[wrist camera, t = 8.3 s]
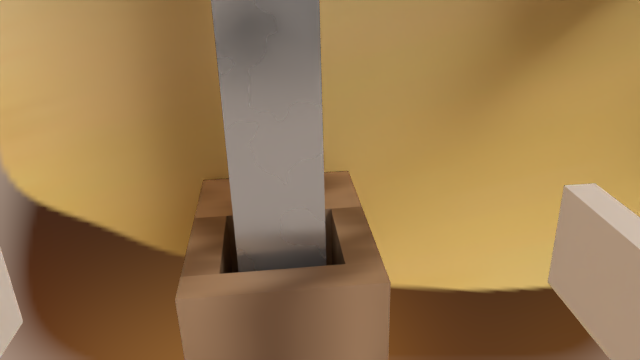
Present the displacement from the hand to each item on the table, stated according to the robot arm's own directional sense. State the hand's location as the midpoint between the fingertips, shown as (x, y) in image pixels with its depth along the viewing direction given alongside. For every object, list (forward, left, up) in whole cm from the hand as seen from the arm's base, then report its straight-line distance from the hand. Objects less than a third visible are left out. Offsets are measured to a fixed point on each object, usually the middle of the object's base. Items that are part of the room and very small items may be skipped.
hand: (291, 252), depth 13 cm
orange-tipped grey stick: (0, -3, -12) cm, 12 cm away
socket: (0, +8, -17) cm, 19 cm away
